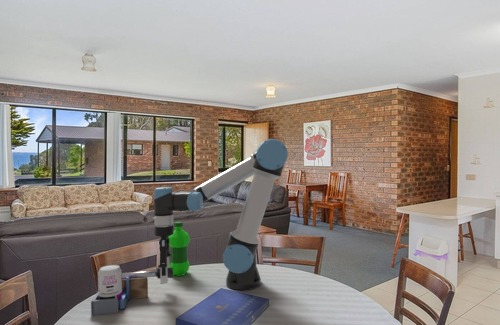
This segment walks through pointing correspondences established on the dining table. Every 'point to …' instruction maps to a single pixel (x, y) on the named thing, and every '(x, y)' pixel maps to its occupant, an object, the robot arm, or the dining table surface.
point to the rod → (133, 275)
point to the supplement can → (110, 283)
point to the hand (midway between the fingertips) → (165, 277)
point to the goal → (104, 305)
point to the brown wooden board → (137, 287)
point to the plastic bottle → (179, 250)
